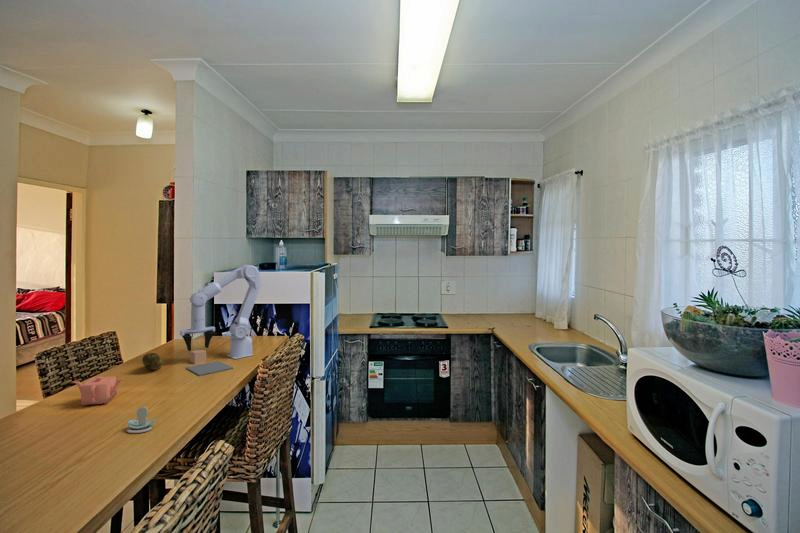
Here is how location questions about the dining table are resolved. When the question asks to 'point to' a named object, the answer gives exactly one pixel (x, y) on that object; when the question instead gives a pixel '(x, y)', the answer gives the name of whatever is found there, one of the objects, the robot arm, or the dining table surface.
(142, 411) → the pacifier
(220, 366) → the mat
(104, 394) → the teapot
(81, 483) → the dining table surface
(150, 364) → the potato
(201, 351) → the cube
